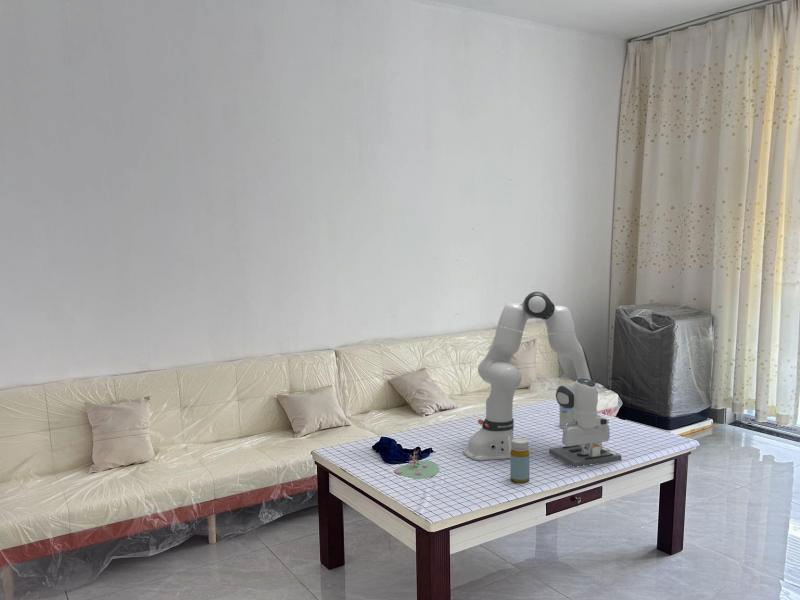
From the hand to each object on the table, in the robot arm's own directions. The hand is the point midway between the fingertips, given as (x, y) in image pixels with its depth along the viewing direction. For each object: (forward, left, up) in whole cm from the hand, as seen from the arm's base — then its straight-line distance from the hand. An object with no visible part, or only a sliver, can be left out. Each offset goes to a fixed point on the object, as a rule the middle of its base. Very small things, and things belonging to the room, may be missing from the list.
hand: (585, 454), depth 253 cm
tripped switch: (+4, 0, -1) cm, 4 cm away
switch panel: (+3, +6, -3) cm, 7 cm away
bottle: (-34, -6, -4) cm, 34 cm away
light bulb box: (+22, +43, -4) cm, 48 cm away
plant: (-70, +18, -4) cm, 72 cm away
